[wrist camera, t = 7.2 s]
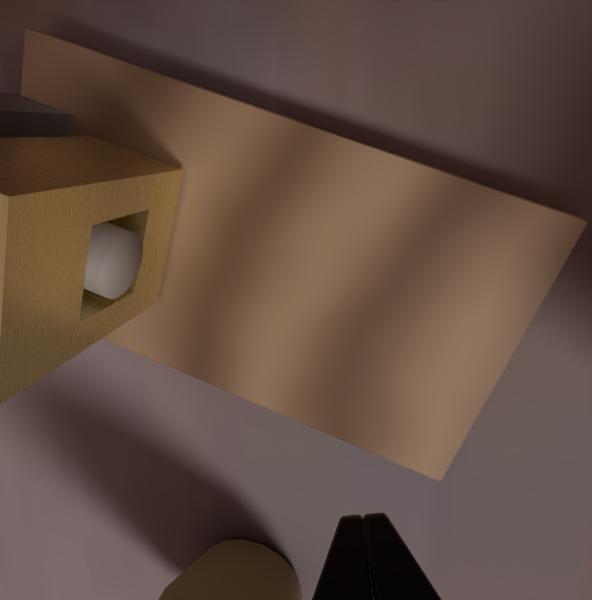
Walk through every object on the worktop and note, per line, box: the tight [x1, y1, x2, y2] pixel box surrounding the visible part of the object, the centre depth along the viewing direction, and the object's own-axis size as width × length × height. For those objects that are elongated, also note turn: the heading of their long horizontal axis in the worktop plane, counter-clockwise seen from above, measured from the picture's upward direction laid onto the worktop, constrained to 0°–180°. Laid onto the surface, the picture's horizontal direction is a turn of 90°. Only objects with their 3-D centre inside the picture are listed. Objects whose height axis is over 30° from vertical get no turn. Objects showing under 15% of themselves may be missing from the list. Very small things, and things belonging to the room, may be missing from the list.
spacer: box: [0, 136, 184, 404], centre depth 16 cm, size 4×6×9 cm, turn 163°
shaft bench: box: [0, 28, 588, 482], centre depth 16 cm, size 22×12×10 cm, turn 73°
